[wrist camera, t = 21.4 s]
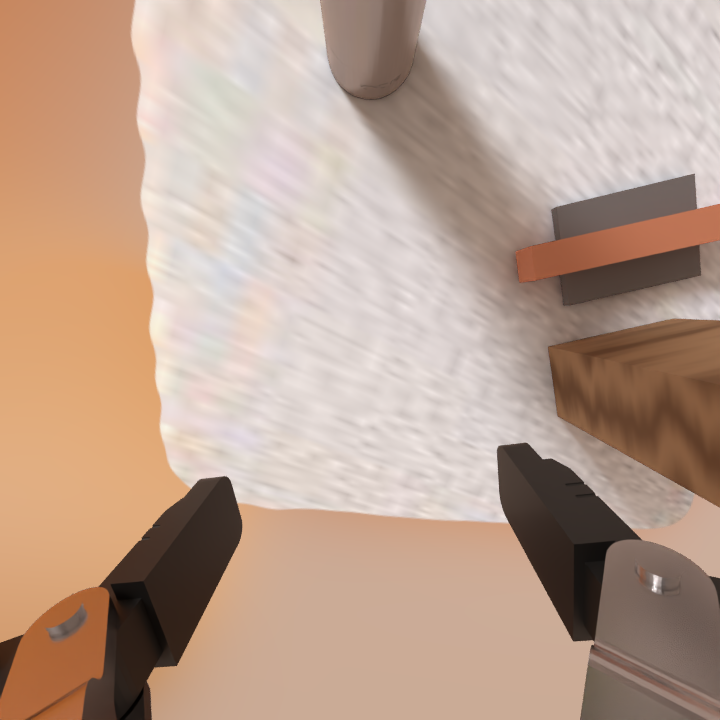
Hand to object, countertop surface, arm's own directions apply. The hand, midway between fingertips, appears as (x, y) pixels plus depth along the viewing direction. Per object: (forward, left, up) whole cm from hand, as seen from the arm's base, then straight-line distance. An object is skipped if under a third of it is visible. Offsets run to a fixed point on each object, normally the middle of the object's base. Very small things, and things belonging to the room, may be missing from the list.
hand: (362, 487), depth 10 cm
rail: (-5, +30, -30) cm, 43 cm away
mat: (-5, +32, -31) cm, 45 cm away
